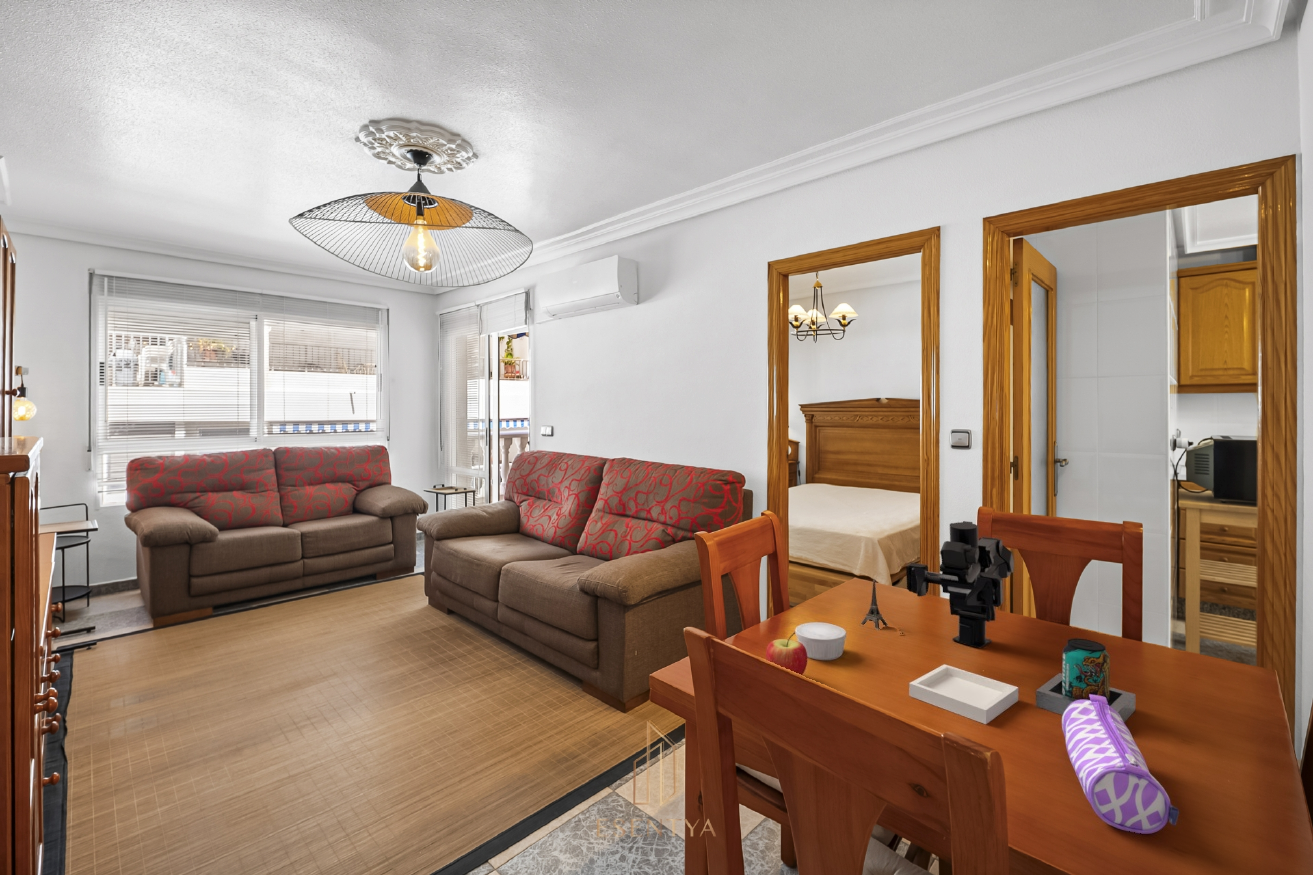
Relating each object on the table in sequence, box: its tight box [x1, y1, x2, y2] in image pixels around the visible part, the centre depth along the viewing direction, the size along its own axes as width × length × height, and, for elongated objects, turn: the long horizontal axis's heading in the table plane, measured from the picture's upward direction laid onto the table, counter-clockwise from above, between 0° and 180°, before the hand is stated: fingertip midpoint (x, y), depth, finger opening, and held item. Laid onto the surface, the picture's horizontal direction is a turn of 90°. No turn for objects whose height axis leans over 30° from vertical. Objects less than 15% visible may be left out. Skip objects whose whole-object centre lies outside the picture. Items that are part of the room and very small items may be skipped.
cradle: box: [908, 663, 1019, 725], centre depth 115 cm, size 14×14×2 cm
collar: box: [1035, 672, 1136, 723], centre depth 111 cm, size 12×12×3 cm
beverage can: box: [1062, 637, 1111, 705], centre depth 111 cm, size 7×7×12 cm
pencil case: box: [1061, 694, 1180, 835], centre depth 87 cm, size 22×9×10 cm, turn 157°
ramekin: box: [794, 621, 847, 661], centre depth 138 cm, size 11×11×5 cm
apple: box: [765, 631, 808, 676], centre depth 124 cm, size 8×8×10 cm
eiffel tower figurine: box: [860, 579, 901, 634], centre depth 156 cm, size 15×10×13 cm
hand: (941, 598), depth 124 cm, fingers open, 9 cm apart
